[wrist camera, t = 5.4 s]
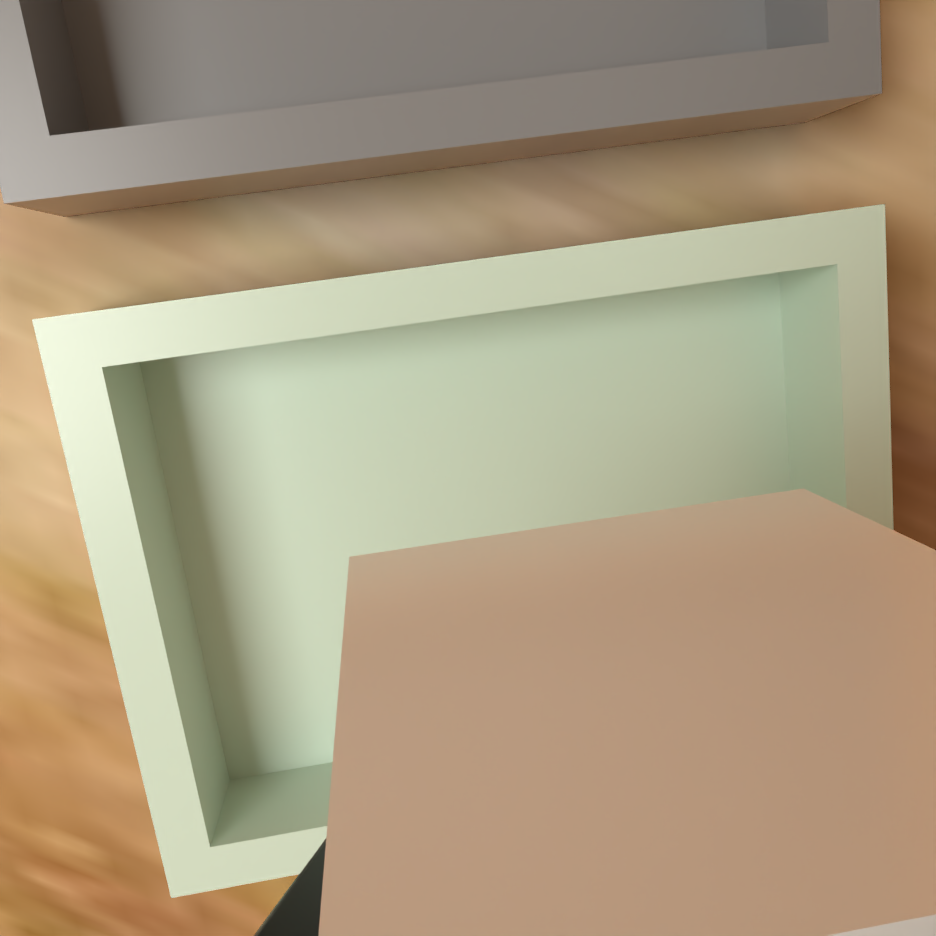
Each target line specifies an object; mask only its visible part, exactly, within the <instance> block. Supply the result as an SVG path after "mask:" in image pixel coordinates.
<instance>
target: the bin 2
mask: <svg viewBox="0 0 936 936" xmlns="http://www.w3.org/2000/svg"><path fill="white" fill-rule="evenodd" d="M32 321H33V325H34V330H35V334H36V338H37V342H38V346H39V350H40V355H41V359H42V363H43V367H44V371H45V375H46V379H47V384H48V388H49V392H50V396H51V400H52V404H53V409H54V413H55V417H56V421H57V425H58V429H59V434H60V438H61V442H62V446H63V450H64V454H65V458H66V463H67V467H68V471H69V475H70V479H71V483H72V488H73V492H74V496H75V500H76V504H77V508H78V512H79V517H80V521H81V525H82V529H83V533H84V537H85V542H86V546H87V550H88V554H89V558H90V562H91V567H92V571H93V575H94V579H95V583H96V587H97V591H98V596H99V600H100V604H101V608H102V612H103V616H104V621H105V625H106V629H107V633H108V637H109V641H110V646H111V650H112V654H113V658H114V662H115V666H116V670H117V675H118V679H119V683H120V687H121V691H122V695H123V700H124V704H125V708H126V712H127V716H128V720H129V725H130V729H131V733H132V737H133V741H134V745H135V749H136V754H137V758H138V762H139V766H140V770H141V774H142V779H143V783H144V787H145V791H146V795H147V799H148V804H149V808H150V812H151V816H152V820H153V824H154V828H155V833H156V837H157V841H158V845H159V849H160V853H161V858H162V862H163V866H164V870H165V874H166V878H167V882H168V887H169V891H170V895H171V898H174V897H179V896H185V895H190V894H196V893H201V892H206V891H212V890H217V889H222V888H228V887H233V886H238V885H244V884H249V883H255V882H260V881H265V880H271V879H276V878H281V877H287V876H292V875H297V874H300V873H301V871H302V870H303V869H304V867H305V866H306V864H307V863H308V862H309V860H310V859H311V858H312V856H313V855H314V854H315V852H316V851H317V850H318V848H319V847H320V846H321V844H322V843H323V842H324V840H325V839H326V836H327V824H328V811H329V799H330V787H331V775H332V762H333V750H334V738H335V726H336V713H337V701H338V689H339V677H340V664H341V652H342V640H343V628H344V615H345V603H346V591H347V578H348V566H349V557H351V556H358V555H364V554H371V553H378V552H384V551H391V550H397V549H404V548H411V547H417V546H424V545H431V544H437V543H444V542H451V541H457V540H464V539H471V538H477V537H484V536H491V535H497V534H504V533H510V532H517V531H524V530H530V529H537V528H544V527H550V526H557V525H564V524H570V523H577V522H584V521H590V520H597V519H604V518H610V517H617V516H624V515H630V514H637V513H643V512H650V511H657V510H663V509H670V508H677V507H683V506H690V505H697V504H703V503H710V502H717V501H723V500H730V499H737V498H743V497H750V496H756V495H763V494H770V493H776V492H783V491H790V490H796V489H803V488H804V489H806V490H808V491H810V492H812V493H814V494H817V495H819V496H821V497H823V498H825V499H827V500H829V501H832V502H834V503H836V504H838V505H840V506H842V507H844V508H847V509H849V510H851V511H853V512H855V513H857V514H859V515H862V516H864V517H866V518H868V519H870V520H872V521H874V522H877V523H879V524H881V525H883V526H885V527H887V528H889V529H892V530H894V527H893V489H892V451H891V413H890V375H889V337H888V299H887V261H886V223H885V204H881V205H874V206H866V207H859V208H852V209H844V210H837V211H829V212H822V213H815V214H807V215H800V216H793V217H785V218H778V219H770V220H763V221H756V222H748V223H741V224H734V225H726V226H719V227H711V228H704V229H697V230H689V231H682V232H674V233H667V234H660V235H652V236H645V237H638V238H630V239H623V240H615V241H608V242H601V243H593V244H586V245H579V246H571V247H564V248H556V249H549V250H542V251H534V252H527V253H519V254H512V255H505V256H497V257H490V258H483V259H475V260H468V261H460V262H453V263H446V264H438V265H431V266H424V267H416V268H409V269H401V270H394V271H387V272H379V273H372V274H364V275H357V276H350V277H342V278H335V279H328V280H320V281H313V282H305V283H298V284H291V285H283V286H276V287H269V288H261V289H254V290H246V291H239V292H232V293H224V294H217V295H209V296H202V297H195V298H187V299H180V300H173V301H165V302H158V303H150V304H143V305H136V306H128V307H121V308H114V309H106V310H99V311H91V312H84V313H77V314H69V315H62V316H54V317H47V318H40V319H32Z"/></svg>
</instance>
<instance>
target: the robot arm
mask: <svg viewBox="0 0 936 936" xmlns="http://www.w3.org/2000/svg"><path fill="white" fill-rule="evenodd" d="M325 848H326V839H325V840H324V842H323V843H322V844H321V846H320V847H319V848H318V850H317V851H316V852H315V854H314V855H313V856H312V858H311V859H310V860H309V862H308V863H307V864H306V866H305V867H304V869H303V870H302V871H301V873H300V874H299V875H298V877H297V878H296V879H295V881H294V882H293V883H292V885H291V886H290V887H289V889H288V890H287V891H286V893H285V894H284V896H283V897H282V898H281V900H280V901H279V902H278V904H277V905H276V906H275V908H274V909H273V910H272V912H271V913H270V914H269V916H268V917H267V918H266V920H265V921H264V922H263V924H262V925H261V927H260V928H259V929H258V931H257V932H256V933H255V935H254V936H318V934H319V922H320V910H321V897H322V885H323V873H324V860H325Z"/></svg>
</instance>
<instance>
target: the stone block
mask: <svg viewBox="0 0 936 936" xmlns="http://www.w3.org/2000/svg"><path fill="white" fill-rule="evenodd" d="M318 936H936V550H934V549H932V548H930V547H928V546H926V545H924V544H922V543H919V542H917V541H915V540H913V539H911V538H909V537H907V536H904V535H902V534H900V533H898V532H896V531H894V530H892V529H889V528H887V527H885V526H883V525H881V524H879V523H877V522H874V521H872V520H870V519H868V518H866V517H864V516H862V515H859V514H857V513H855V512H853V511H851V510H849V509H847V508H844V507H842V506H840V505H838V504H836V503H834V502H832V501H829V500H827V499H825V498H823V497H821V496H819V495H817V494H814V493H812V492H810V491H808V490H806V489H804V488H803V489H796V490H790V491H783V492H776V493H770V494H763V495H756V496H750V497H743V498H737V499H730V500H723V501H717V502H710V503H703V504H697V505H690V506H683V507H677V508H670V509H663V510H657V511H650V512H643V513H637V514H630V515H624V516H617V517H610V518H604V519H597V520H590V521H584V522H577V523H570V524H564V525H557V526H550V527H544V528H537V529H530V530H524V531H517V532H510V533H504V534H497V535H491V536H484V537H477V538H471V539H464V540H457V541H451V542H444V543H437V544H431V545H424V546H417V547H411V548H404V549H397V550H391V551H384V552H378V553H371V554H364V555H358V556H351V557H349V566H348V578H347V591H346V603H345V615H344V628H343V640H342V652H341V664H340V677H339V689H338V701H337V713H336V726H335V738H334V750H333V762H332V775H331V787H330V799H329V811H328V824H327V836H326V848H325V860H324V873H323V885H322V897H321V910H320V922H319V934H318Z"/></svg>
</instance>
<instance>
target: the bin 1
mask: <svg viewBox="0 0 936 936" xmlns="http://www.w3.org/2000/svg"><path fill="white" fill-rule="evenodd" d="M879 94H882V71H881V33H880V0H0V188H1V192H2V197H3V201H4V204H9V205H13V206H18V207H22V208H27V209H31V210H36V211H40V212H45V213H50V214H54V215H59V216H63V217H66V216H74V215H82V214H90V213H98V212H106V211H114V210H121V209H129V208H137V207H145V206H153V205H161V204H169V203H176V202H184V201H192V200H200V199H208V198H216V197H224V196H232V195H239V194H247V193H255V192H263V191H271V190H279V189H287V188H294V187H302V186H310V185H318V184H326V183H334V182H342V181H349V180H357V179H365V178H373V177H381V176H389V175H397V174H404V173H412V172H420V171H428V170H436V169H444V168H452V167H460V166H467V165H475V164H483V163H491V162H499V161H507V160H515V159H522V158H530V157H538V156H546V155H554V154H562V153H570V152H577V151H585V150H593V149H601V148H609V147H617V146H625V145H633V144H640V143H648V142H656V141H664V140H672V139H680V138H688V137H695V136H703V135H711V134H719V133H727V132H735V131H743V130H750V129H758V128H766V127H774V126H782V125H790V124H798V123H805V122H808V121H810V120H813V119H816V118H818V117H821V116H823V115H826V114H829V113H831V112H834V111H837V110H839V109H842V108H845V107H847V106H850V105H853V104H855V103H858V102H861V101H863V100H866V99H869V98H871V97H874V96H877V95H879Z"/></svg>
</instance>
